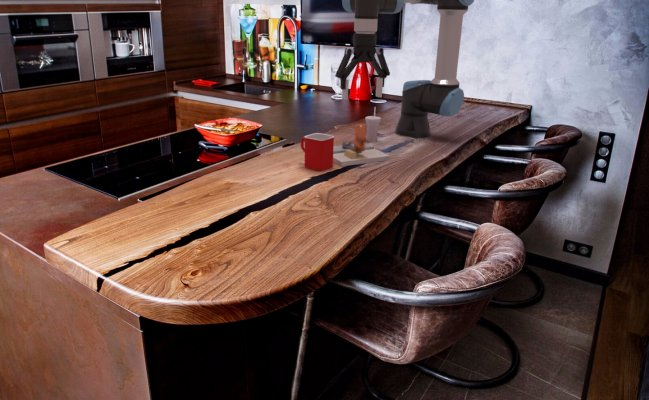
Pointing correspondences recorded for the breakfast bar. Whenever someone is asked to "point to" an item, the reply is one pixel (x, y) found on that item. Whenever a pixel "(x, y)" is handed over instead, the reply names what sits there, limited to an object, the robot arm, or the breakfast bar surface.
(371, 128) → the smoothie
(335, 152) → the jamb strip
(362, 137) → the latch bar
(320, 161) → the mug
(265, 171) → the breakfast bar surface
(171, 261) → the breakfast bar surface
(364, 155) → the door panel
